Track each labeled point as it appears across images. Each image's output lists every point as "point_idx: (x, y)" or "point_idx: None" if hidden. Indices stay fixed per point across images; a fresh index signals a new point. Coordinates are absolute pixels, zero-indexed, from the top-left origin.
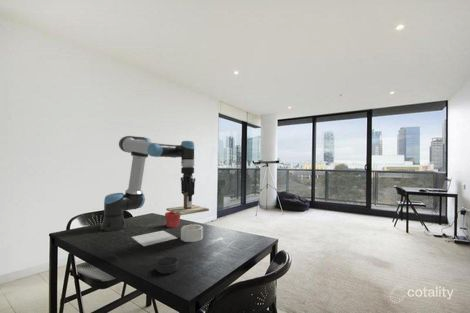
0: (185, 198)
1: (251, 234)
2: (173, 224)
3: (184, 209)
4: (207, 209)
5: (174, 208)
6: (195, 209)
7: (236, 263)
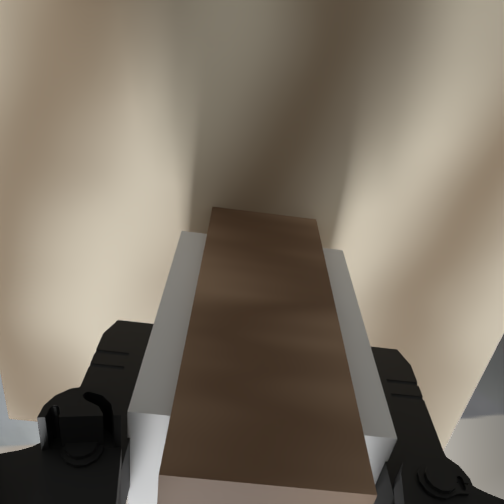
0: (246, 346)
1: (33, 440)
2: None
3: (224, 171)
4: (10, 395)
5: (484, 103)
6: (79, 284)
7: None
